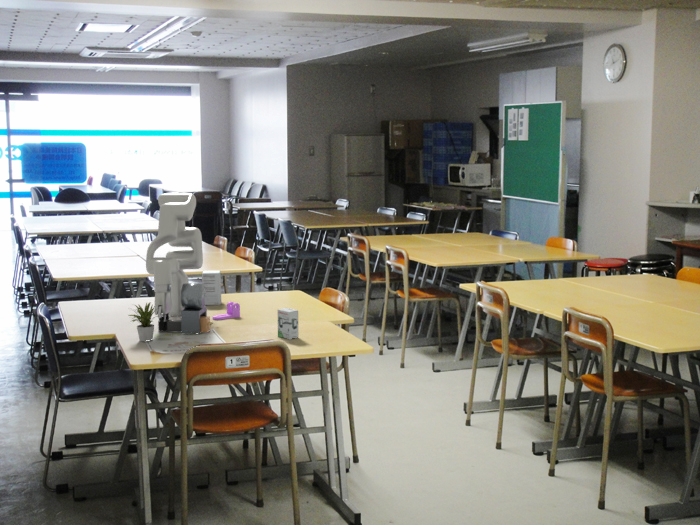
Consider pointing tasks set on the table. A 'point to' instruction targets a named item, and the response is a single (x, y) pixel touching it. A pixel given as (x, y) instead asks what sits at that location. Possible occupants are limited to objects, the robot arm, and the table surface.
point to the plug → (176, 324)
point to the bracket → (229, 312)
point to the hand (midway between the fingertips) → (164, 329)
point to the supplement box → (212, 287)
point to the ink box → (288, 323)
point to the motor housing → (192, 307)
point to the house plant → (144, 322)
